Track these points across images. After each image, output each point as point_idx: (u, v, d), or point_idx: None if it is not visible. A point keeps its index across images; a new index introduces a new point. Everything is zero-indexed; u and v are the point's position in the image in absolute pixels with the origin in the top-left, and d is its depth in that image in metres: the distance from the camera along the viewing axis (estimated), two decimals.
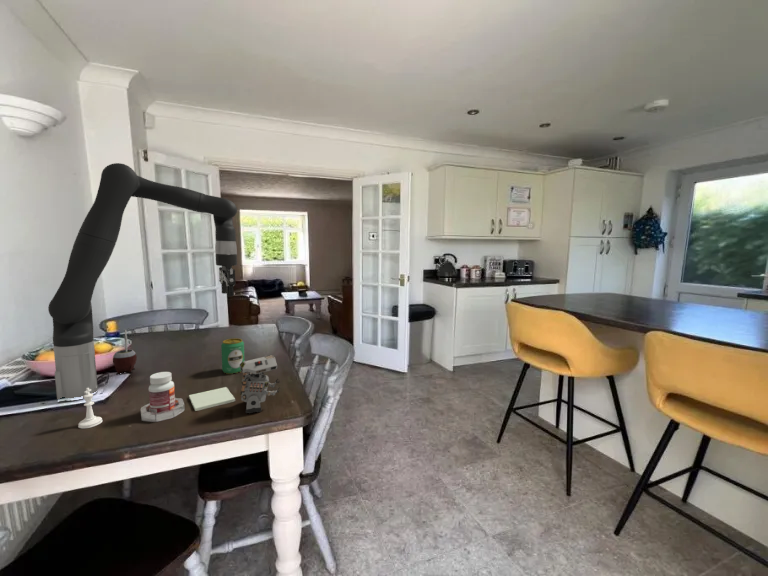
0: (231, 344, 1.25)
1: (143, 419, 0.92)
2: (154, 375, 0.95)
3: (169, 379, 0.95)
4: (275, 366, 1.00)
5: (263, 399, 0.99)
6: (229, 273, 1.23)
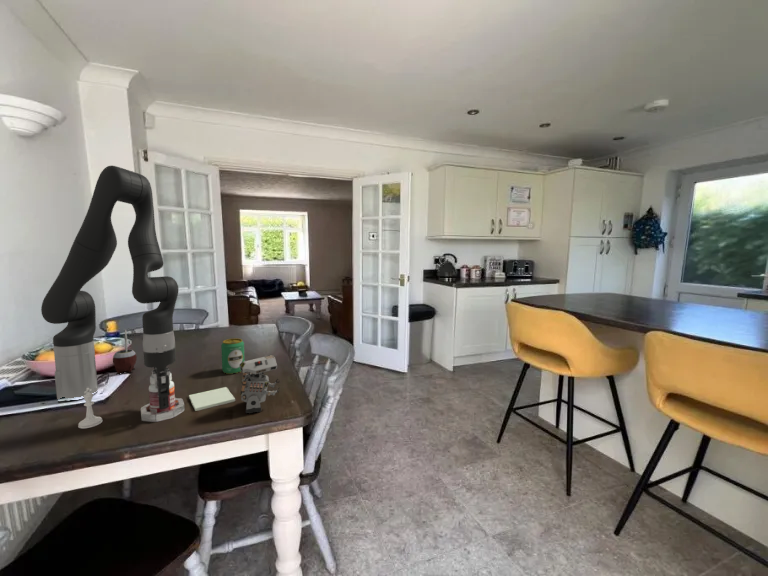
0: (231, 344, 1.25)
1: (143, 419, 0.92)
2: None
3: None
4: (275, 366, 1.00)
5: (263, 399, 0.99)
6: (160, 382, 0.89)
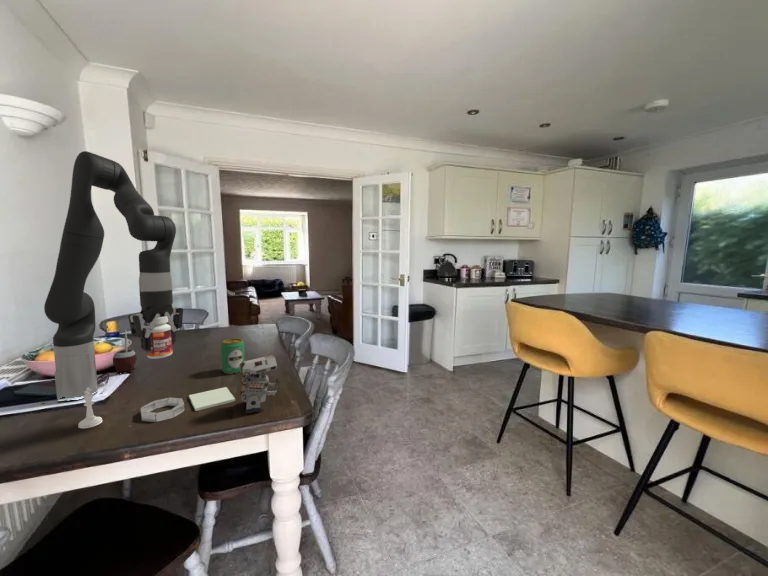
0: (231, 344, 1.25)
1: (143, 419, 0.92)
2: None
3: (155, 322, 0.91)
4: (275, 366, 1.00)
5: (263, 399, 0.99)
6: (130, 321, 0.87)
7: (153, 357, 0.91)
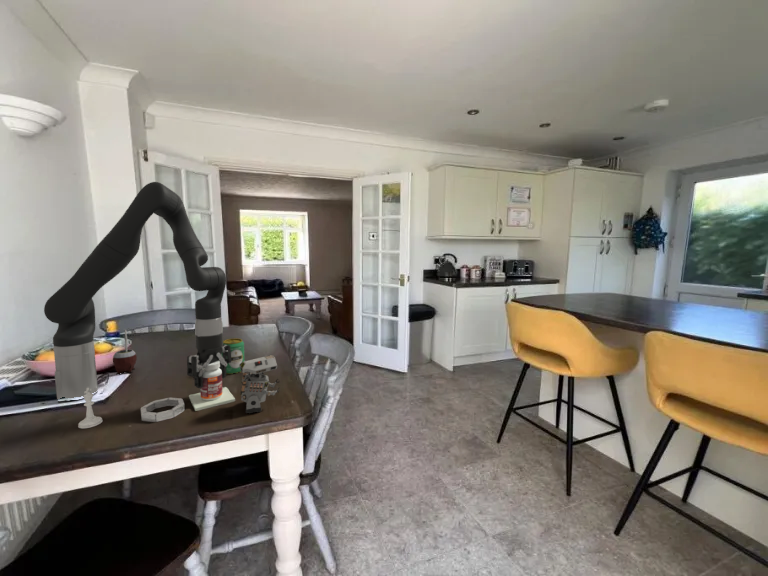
0: (231, 344, 1.25)
1: (143, 419, 0.92)
2: None
3: (210, 368, 1.02)
4: (275, 366, 1.00)
5: (263, 399, 0.99)
6: (188, 361, 0.97)
7: (207, 399, 1.02)
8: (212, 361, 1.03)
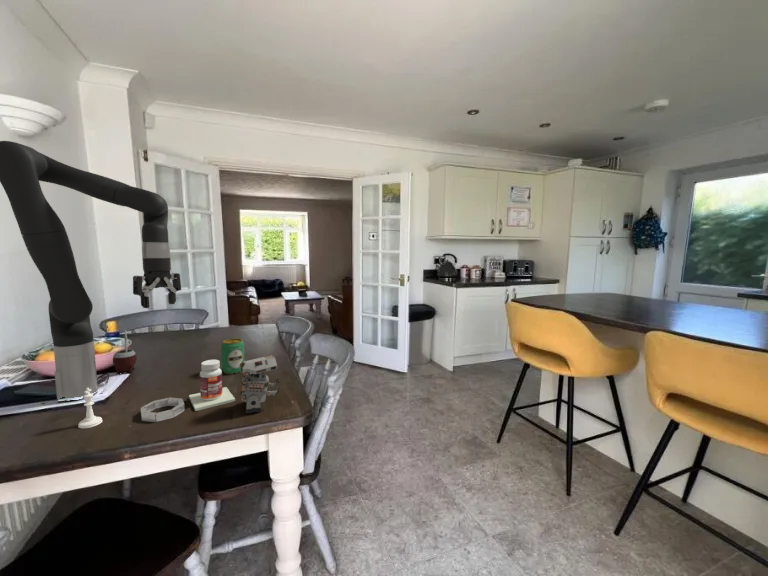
0: (231, 344, 1.25)
1: (143, 419, 0.92)
2: (208, 361, 1.05)
3: (210, 368, 1.02)
4: (275, 366, 1.00)
5: (263, 399, 0.99)
6: (133, 280, 1.03)
7: (207, 399, 1.02)
8: (159, 284, 1.09)
